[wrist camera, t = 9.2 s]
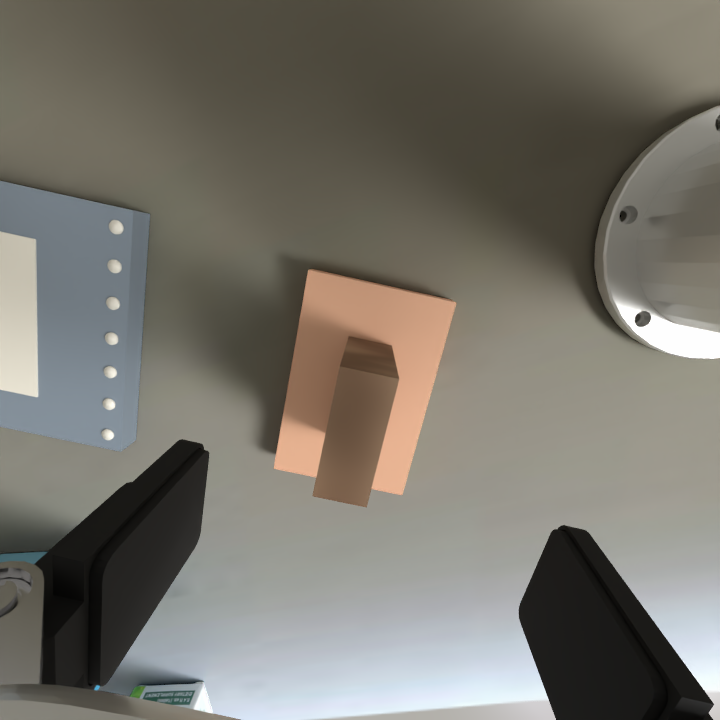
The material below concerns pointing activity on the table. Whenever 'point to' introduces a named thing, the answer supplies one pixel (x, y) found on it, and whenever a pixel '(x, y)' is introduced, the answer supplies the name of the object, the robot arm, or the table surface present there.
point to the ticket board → (71, 316)
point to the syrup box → (176, 695)
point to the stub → (360, 384)
